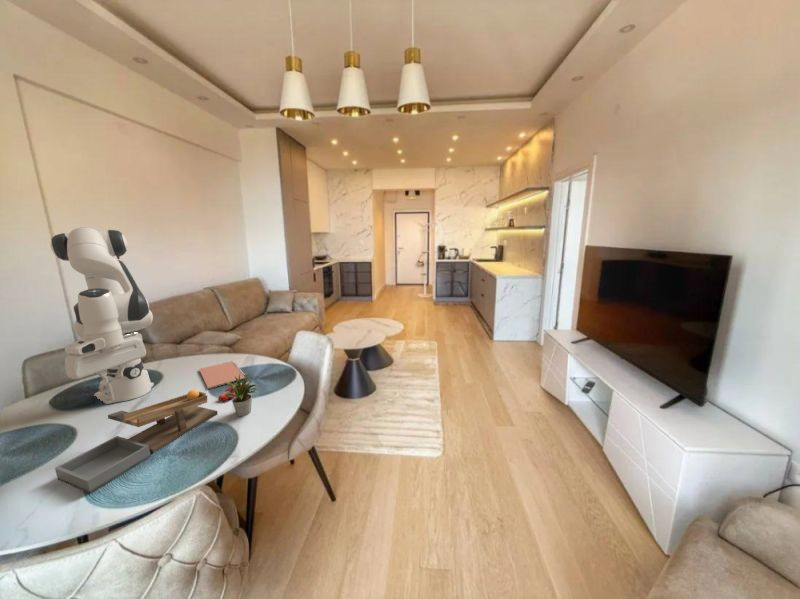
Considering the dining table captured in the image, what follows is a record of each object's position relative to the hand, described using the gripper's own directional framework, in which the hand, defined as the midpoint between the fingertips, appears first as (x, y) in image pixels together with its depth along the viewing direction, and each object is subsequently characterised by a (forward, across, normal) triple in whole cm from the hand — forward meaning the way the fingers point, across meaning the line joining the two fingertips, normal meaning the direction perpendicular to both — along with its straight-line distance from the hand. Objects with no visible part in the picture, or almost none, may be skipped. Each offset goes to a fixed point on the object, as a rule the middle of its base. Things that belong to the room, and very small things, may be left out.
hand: (113, 379), depth 104 cm
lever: (+16, -10, +4) cm, 20 cm away
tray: (+23, +10, +8) cm, 26 cm away
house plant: (+23, -26, +24) cm, 42 cm away
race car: (+24, -37, +8) cm, 45 cm away
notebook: (+24, -51, -14) cm, 58 cm away
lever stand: (+23, -10, +8) cm, 26 cm away
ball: (+14, -20, +8) cm, 25 cm away
